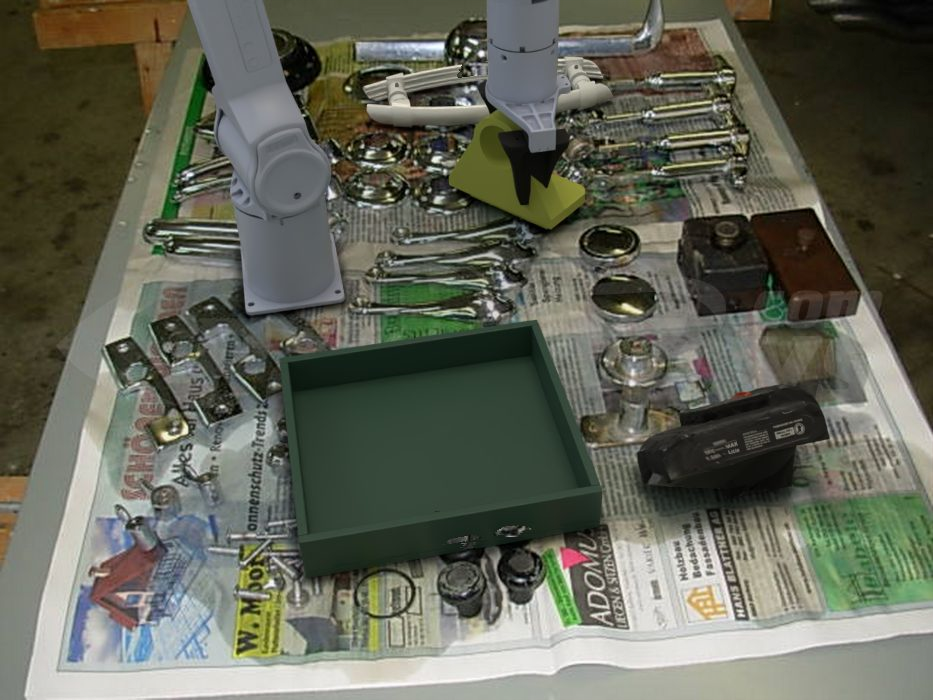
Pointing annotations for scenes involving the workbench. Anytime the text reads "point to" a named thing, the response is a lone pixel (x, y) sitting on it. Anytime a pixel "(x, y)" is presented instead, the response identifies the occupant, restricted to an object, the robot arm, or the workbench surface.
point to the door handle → (407, 116)
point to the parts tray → (432, 447)
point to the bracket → (510, 178)
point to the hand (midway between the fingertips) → (521, 180)
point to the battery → (736, 442)
